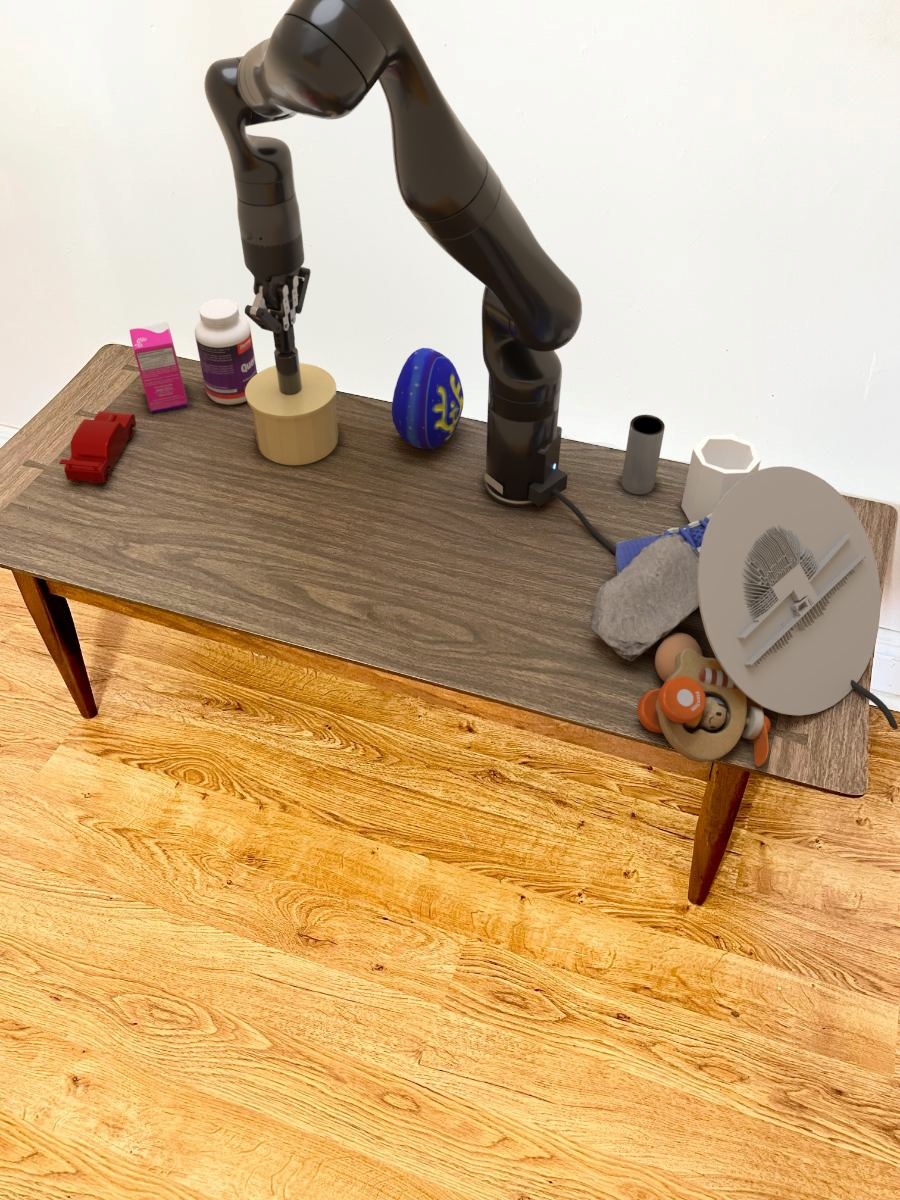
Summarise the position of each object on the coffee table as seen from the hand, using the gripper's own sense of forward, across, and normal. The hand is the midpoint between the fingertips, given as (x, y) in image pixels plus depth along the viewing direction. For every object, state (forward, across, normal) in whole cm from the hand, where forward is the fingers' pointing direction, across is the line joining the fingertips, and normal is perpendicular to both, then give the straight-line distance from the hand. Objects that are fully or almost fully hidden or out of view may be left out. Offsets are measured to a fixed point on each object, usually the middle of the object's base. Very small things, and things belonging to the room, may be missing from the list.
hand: (285, 349), depth 145 cm
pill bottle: (+16, +6, +15) cm, 23 cm away
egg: (+13, -23, -63) cm, 69 cm away
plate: (+5, -11, -72) cm, 73 cm away
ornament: (+16, +8, -17) cm, 24 cm away
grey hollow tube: (+16, +11, -48) cm, 52 cm away
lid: (+7, 0, 0) cm, 7 cm away
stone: (+8, -13, -52) cm, 55 cm away
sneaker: (+16, -3, -63) cm, 65 cm away
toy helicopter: (+8, -22, -62) cm, 67 cm away
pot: (+15, 0, 0) cm, 15 cm away
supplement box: (+16, 0, +23) cm, 28 cm away
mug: (+15, +12, -59) cm, 62 cm away
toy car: (+16, -15, +23) cm, 32 cm away
